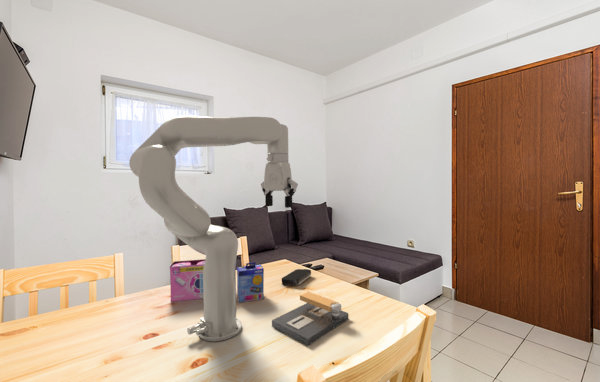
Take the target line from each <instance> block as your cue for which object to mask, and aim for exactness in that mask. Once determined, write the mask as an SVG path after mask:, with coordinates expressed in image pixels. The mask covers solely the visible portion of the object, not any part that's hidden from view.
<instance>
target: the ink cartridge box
mask: <svg viewBox="0 0 600 382" xmlns="http://www.w3.org/2000/svg"><path fill="white" fill-rule="evenodd" d="M264 270H265V268H264V267H263V265H262V264H256V261H253V262H245V266H244V265H243V266H239V267H236V283H237V285H236V298H237V300H238V303H245V302H251V301H259V300H263V299H264V295H265V294H264V277H265V275H264V274H265V273H264Z"/></svg>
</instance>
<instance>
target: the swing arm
mask: <svg viewBox="0 0 600 382" xmlns="http://www.w3.org/2000/svg"><path fill="white" fill-rule="evenodd" d="M299 300H300V301H301V302H304V303H305V304H306V303H309V304H311V305H314V306H316V307H319V308H321V309H324V310H326V311H329V312H334V313H339V312H341V311H342V304H341V303H339V302H338V301H336V300H334V299H333V300H332V299H331V298H328V297H325V296H322V295H319V294H316V293H313V292H310V291H307V292H304V293H302V294H300V295H299Z"/></svg>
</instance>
